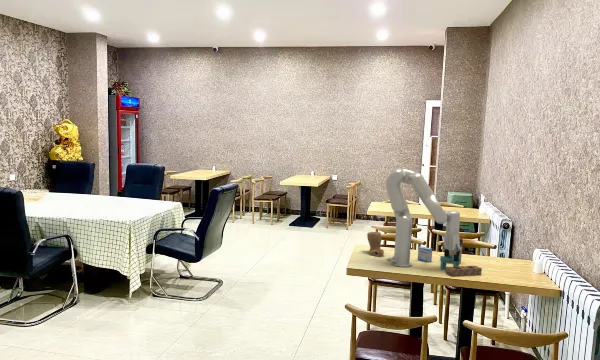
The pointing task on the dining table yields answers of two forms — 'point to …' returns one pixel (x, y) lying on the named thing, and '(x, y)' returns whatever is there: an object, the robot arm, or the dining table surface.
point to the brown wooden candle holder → (463, 271)
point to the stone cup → (375, 243)
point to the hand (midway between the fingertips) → (451, 259)
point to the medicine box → (424, 254)
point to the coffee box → (451, 253)
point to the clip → (448, 259)
